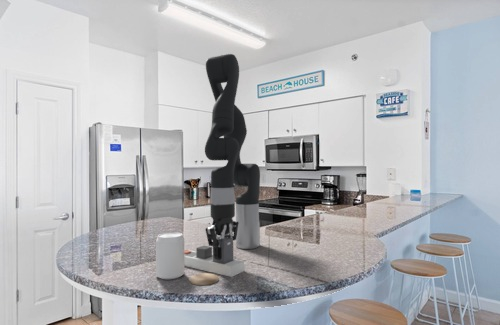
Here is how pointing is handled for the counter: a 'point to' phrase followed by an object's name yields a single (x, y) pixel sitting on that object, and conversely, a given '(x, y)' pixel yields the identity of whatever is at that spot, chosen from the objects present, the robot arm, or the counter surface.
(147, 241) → the counter surface
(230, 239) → the block
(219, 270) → the power strip
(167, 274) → the beverage can
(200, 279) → the coaster
